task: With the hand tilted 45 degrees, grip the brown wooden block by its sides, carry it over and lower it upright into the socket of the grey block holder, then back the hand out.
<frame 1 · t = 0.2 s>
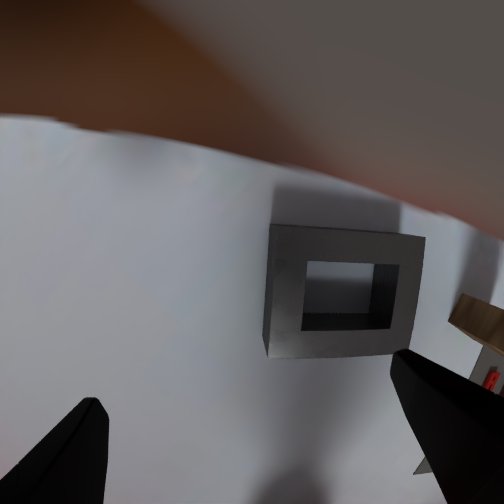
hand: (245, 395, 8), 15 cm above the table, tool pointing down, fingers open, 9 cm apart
brown wooden block: (468, 317, 26), on the table
grey block holder: (334, 284, 24), on the table
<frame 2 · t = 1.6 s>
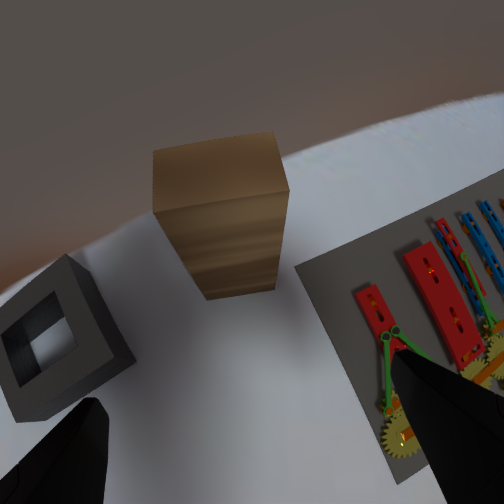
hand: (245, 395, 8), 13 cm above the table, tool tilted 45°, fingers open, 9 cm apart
brown wooden block: (237, 275, 24), on the table
grey block holder: (63, 347, 22), on the table
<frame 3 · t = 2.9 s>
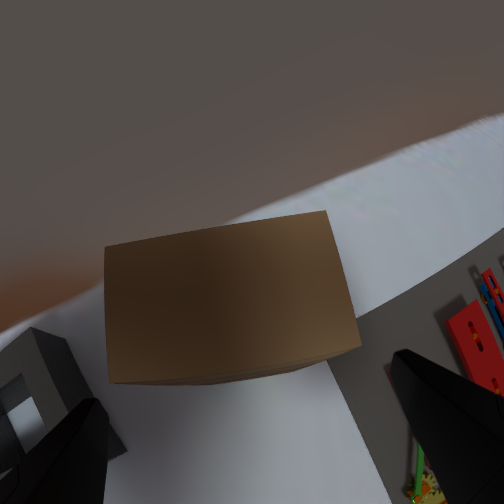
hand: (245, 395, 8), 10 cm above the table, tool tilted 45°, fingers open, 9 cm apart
brown wooden block: (247, 354, 18), on the table
grey block holder: (43, 425, 16), on the table
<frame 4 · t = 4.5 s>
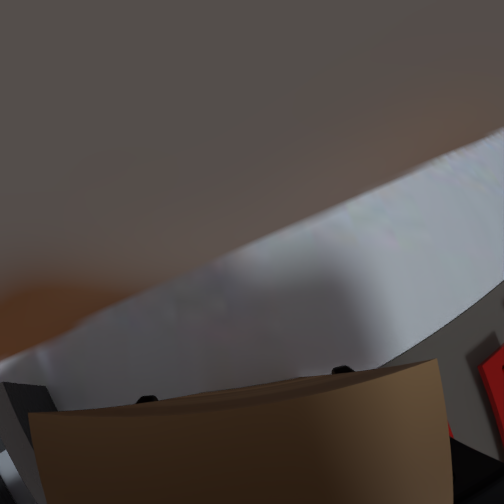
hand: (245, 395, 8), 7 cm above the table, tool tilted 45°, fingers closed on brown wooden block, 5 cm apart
brown wooden block: (256, 414, 14), on the table, touching gripper
grey block holder: (29, 476, 12), on the table
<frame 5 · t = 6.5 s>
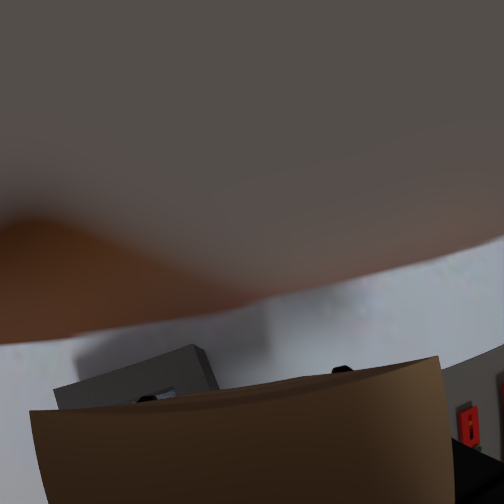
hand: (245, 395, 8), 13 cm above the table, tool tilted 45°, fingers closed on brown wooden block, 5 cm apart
brown wooden block: (256, 413, 14), point 6 cm above the table, touching gripper
grey block holder: (158, 427, 20), on the table
when the fingers open (8 cm above the table, at t = 8.7 s): brown wooden block drops 1 cm, resting in grey block holder.
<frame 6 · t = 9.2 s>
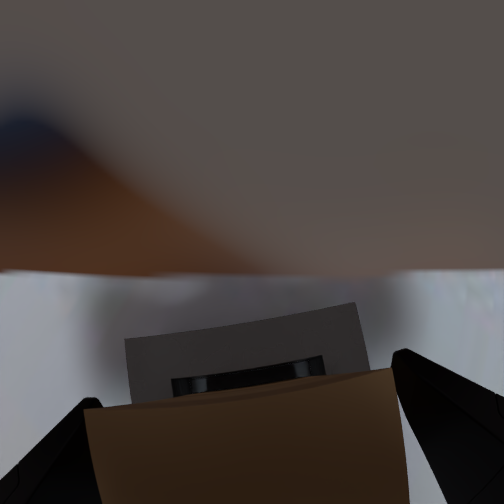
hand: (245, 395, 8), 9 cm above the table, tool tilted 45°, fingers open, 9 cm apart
brown wooden block: (256, 411, 16), resting in grey block holder
grey block holder: (256, 411, 16), on the table
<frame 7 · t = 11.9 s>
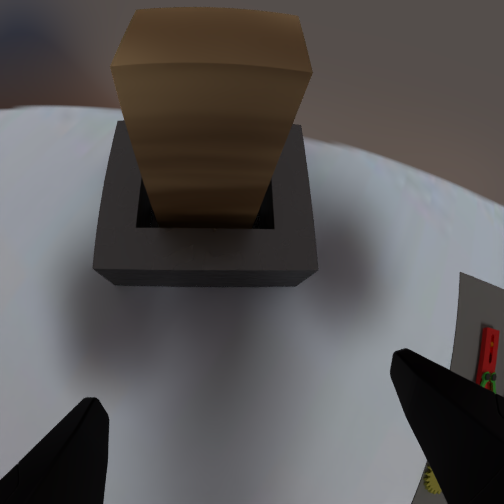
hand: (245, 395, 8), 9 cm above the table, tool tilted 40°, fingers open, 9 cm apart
brown wooden block: (205, 216, 19), resting in grey block holder
grey block holder: (205, 216, 19), on the table
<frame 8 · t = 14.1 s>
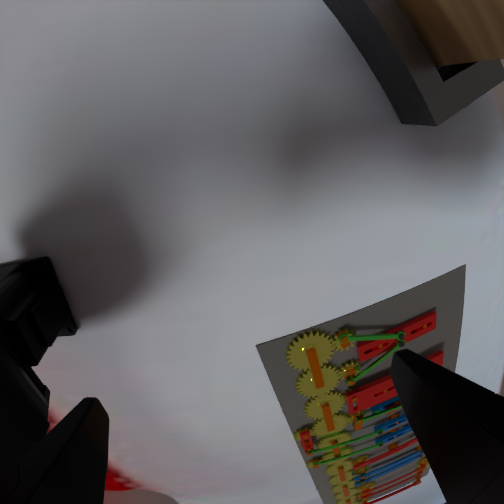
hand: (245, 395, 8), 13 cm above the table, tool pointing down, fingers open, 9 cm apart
brown wooden block: (406, 34, 16), resting in grey block holder
gear board: (379, 438, 33), on the table
grey block holder: (406, 34, 16), on the table
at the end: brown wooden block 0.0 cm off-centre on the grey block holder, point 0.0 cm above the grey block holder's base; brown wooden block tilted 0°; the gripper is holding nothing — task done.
